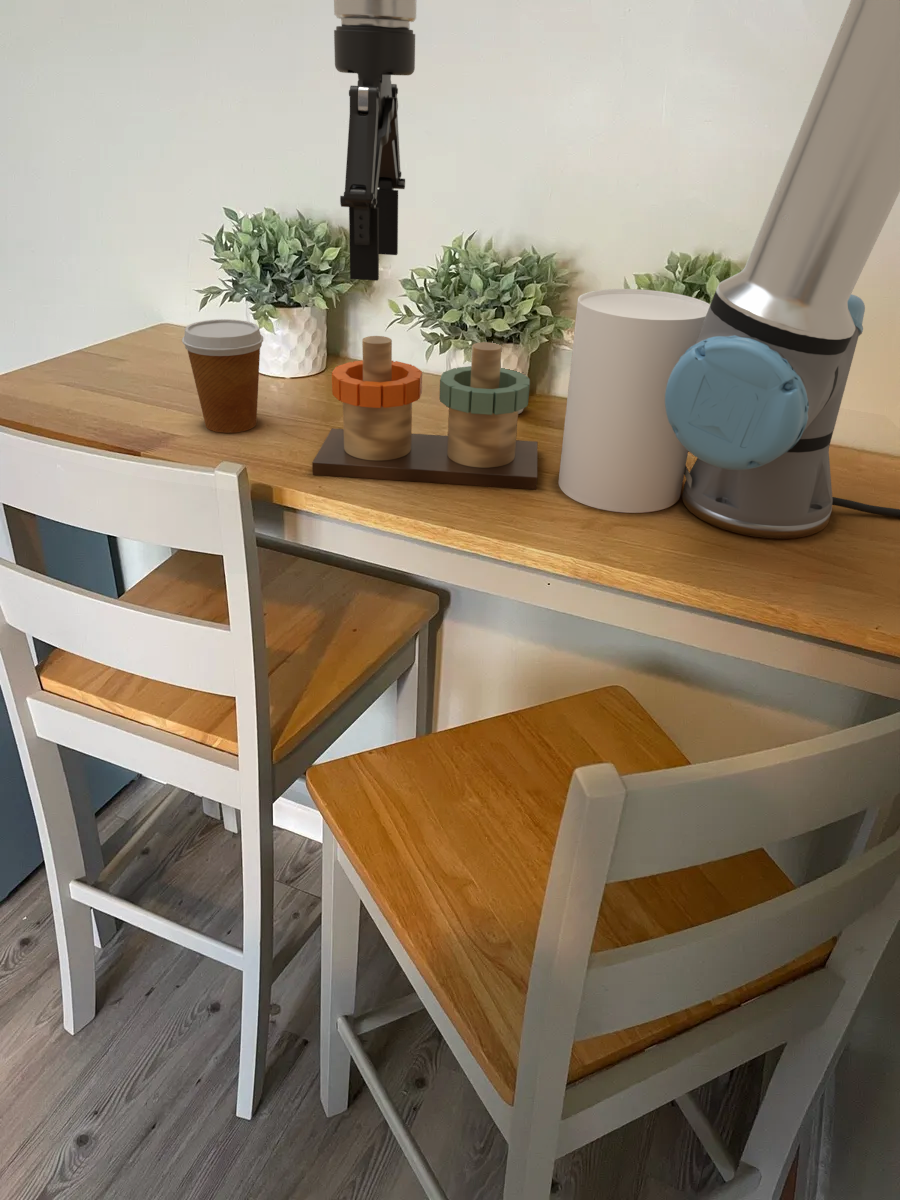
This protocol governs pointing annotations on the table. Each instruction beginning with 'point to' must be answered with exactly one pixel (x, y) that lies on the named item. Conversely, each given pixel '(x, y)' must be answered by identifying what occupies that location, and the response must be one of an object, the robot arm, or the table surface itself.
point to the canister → (626, 399)
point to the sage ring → (484, 392)
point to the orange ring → (376, 386)
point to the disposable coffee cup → (225, 371)
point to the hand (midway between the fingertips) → (375, 266)
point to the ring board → (394, 453)
